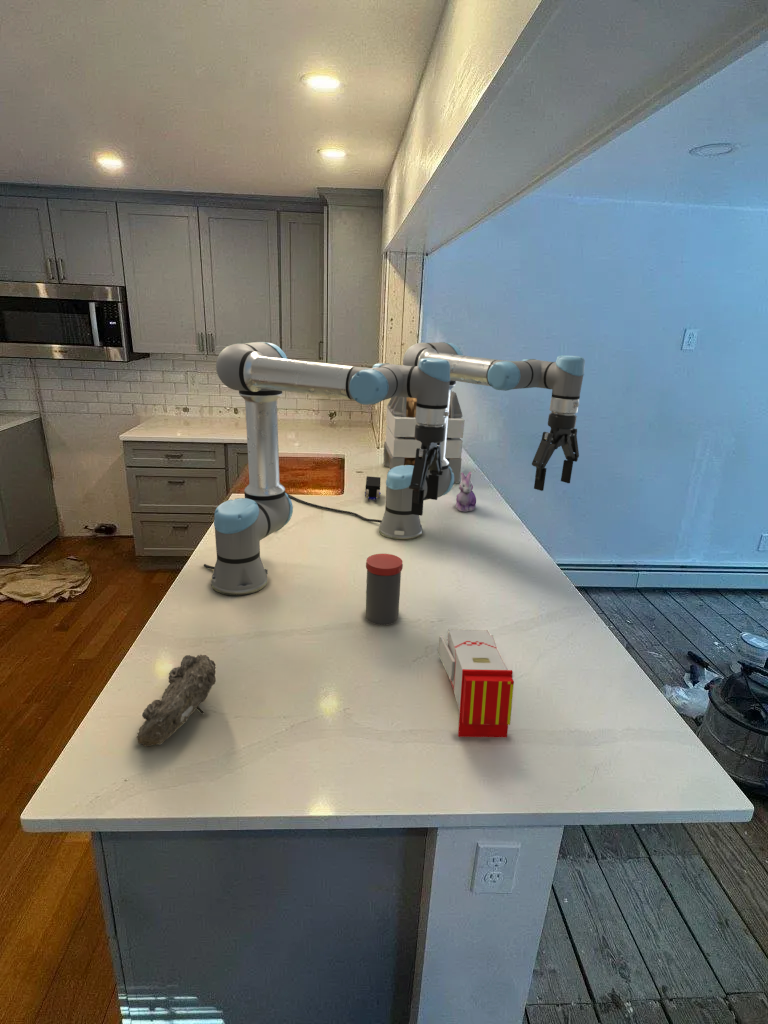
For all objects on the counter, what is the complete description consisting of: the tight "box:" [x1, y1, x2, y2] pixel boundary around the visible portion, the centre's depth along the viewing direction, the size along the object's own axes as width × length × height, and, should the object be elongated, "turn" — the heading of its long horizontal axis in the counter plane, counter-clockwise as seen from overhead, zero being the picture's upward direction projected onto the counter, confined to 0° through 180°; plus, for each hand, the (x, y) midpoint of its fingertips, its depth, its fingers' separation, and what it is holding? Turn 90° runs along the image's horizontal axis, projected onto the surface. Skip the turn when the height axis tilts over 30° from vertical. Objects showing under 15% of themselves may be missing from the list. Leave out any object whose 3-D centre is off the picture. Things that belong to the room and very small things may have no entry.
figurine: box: [455, 471, 477, 513], centre depth 226 cm, size 9×10×15 cm
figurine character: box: [364, 475, 381, 503], centre depth 235 cm, size 7×8×15 cm
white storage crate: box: [383, 390, 465, 484], centre depth 268 cm, size 34×33×41 cm
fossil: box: [136, 654, 217, 747], centre depth 108 cm, size 22×10×15 cm
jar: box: [365, 569, 402, 626], centre depth 143 cm, size 8×8×15 cm
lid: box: [365, 553, 404, 576], centre depth 141 cm, size 9×9×2 cm
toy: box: [437, 628, 515, 738], centre depth 117 cm, size 12×13×30 cm
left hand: (424, 506), depth 145 cm, fingers open, 13 cm apart
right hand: (552, 485), depth 166 cm, fingers open, 13 cm apart
